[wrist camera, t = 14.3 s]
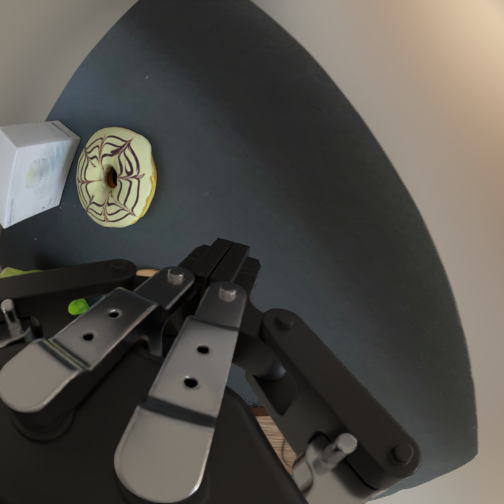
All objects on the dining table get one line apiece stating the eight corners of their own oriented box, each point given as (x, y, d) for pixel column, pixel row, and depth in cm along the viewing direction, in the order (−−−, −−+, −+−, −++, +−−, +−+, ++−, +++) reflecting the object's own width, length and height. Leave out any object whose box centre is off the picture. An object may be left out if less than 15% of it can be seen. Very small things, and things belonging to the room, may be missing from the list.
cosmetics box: (60, 206, 30) (3, 231, 21) (38, 183, 30) (-17, 202, 20) (83, 138, 26) (15, 148, 17) (58, 119, 26) (-4, 124, 16)
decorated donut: (165, 122, 24) (145, 121, 21) (166, 224, 28) (148, 235, 25) (91, 132, 26) (69, 134, 22) (95, 218, 30) (75, 227, 26)
